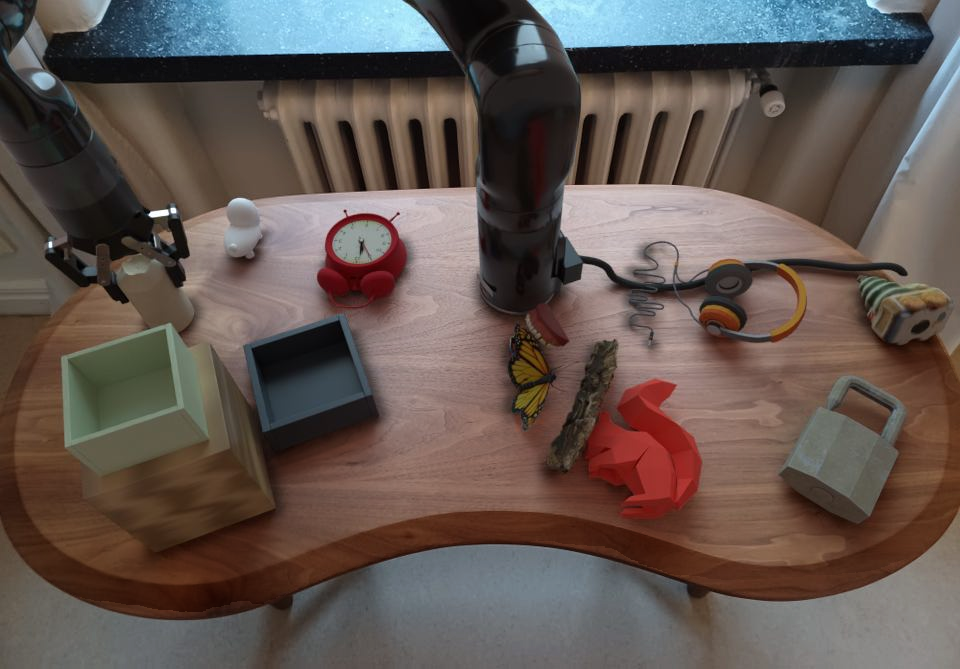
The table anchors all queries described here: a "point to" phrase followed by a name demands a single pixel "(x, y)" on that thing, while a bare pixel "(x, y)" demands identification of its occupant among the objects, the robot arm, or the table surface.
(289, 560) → the table surface
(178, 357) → the pale bin
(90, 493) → the stand
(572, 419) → the bark log
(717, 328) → the headphones
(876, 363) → the table surface
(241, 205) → the toy creature
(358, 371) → the dark bin
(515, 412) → the butterfly
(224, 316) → the table surface
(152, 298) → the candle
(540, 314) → the dentures model
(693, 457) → the animal figurine
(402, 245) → the alarm clock
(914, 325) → the ornament
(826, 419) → the padlock
